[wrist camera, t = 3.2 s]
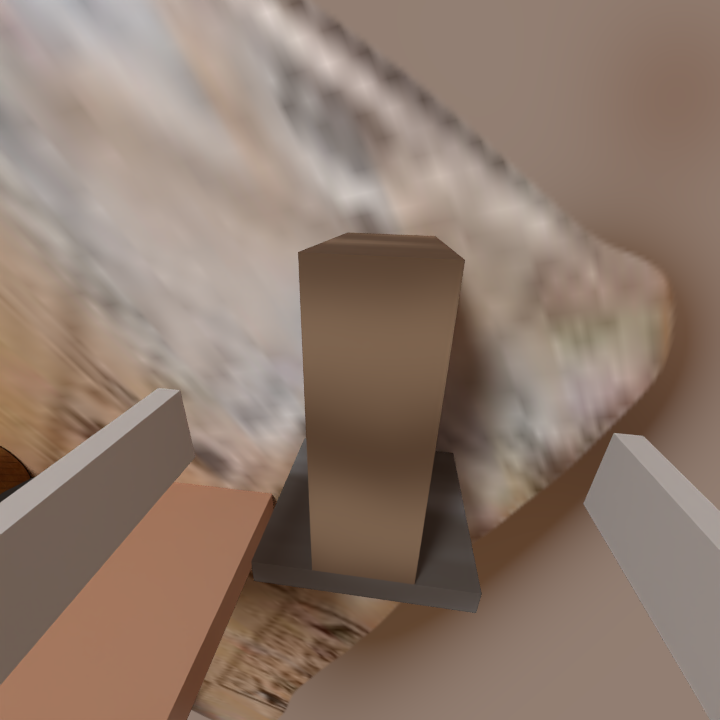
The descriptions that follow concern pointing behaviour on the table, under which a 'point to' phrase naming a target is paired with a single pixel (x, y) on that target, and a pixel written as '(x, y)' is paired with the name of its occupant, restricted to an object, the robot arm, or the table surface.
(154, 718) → the tile
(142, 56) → the table surface
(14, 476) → the disposable coffee cup
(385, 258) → the tan flared wedge
